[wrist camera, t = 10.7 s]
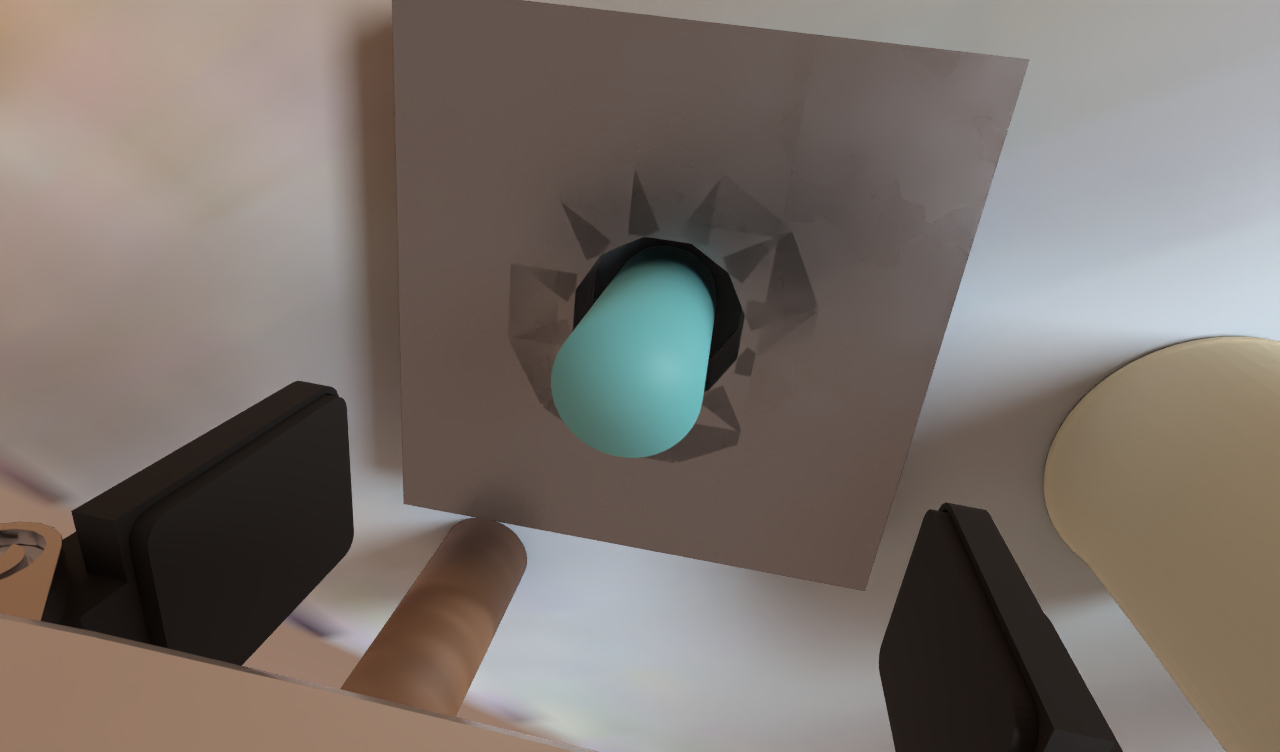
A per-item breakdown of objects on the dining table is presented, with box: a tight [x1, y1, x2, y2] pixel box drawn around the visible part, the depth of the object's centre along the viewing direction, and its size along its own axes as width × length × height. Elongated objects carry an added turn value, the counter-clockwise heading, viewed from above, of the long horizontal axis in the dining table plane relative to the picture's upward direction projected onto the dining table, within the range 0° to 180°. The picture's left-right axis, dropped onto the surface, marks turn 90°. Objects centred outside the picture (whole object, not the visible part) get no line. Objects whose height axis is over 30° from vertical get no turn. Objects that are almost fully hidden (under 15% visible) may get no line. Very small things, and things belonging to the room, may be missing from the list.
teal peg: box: [551, 246, 717, 458], centre depth 19 cm, size 4×4×8 cm
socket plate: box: [392, 0, 1029, 591], centre depth 21 cm, size 16×16×3 cm
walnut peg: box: [341, 518, 527, 717], centre depth 24 cm, size 4×4×8 cm
